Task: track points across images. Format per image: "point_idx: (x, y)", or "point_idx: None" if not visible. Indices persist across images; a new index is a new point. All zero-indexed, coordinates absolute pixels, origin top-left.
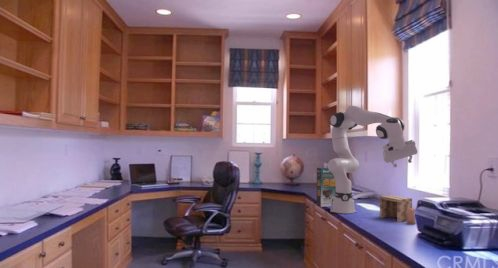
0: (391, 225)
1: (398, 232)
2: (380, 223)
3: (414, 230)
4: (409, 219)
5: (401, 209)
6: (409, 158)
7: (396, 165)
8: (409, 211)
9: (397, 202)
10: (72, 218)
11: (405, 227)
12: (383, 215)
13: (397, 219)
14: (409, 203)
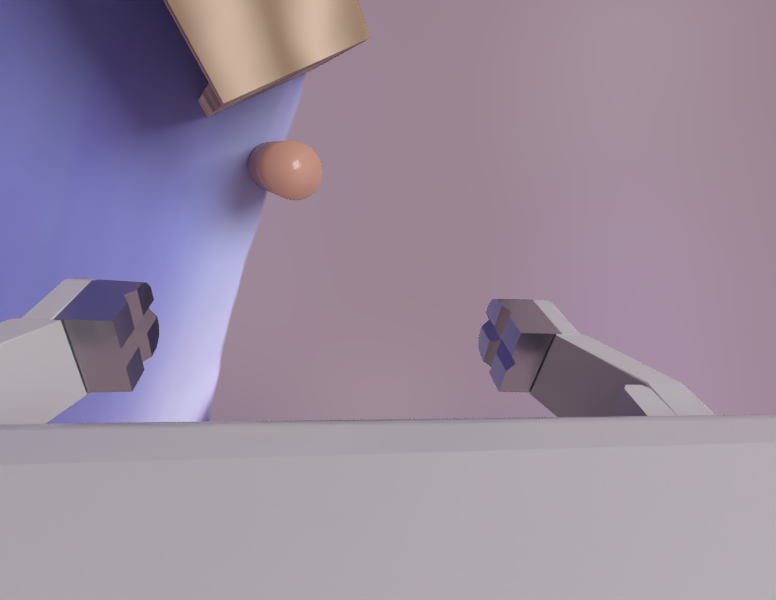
0: (116, 233)
1: (114, 401)
2: (39, 171)
3: (223, 340)
4: (260, 184)
5: (239, 99)
6: (576, 362)
7: (139, 369)
8: (270, 189)
9: (210, 87)
10: None
11: (196, 278)
12: None
13: (200, 103)
14: (330, 57)
